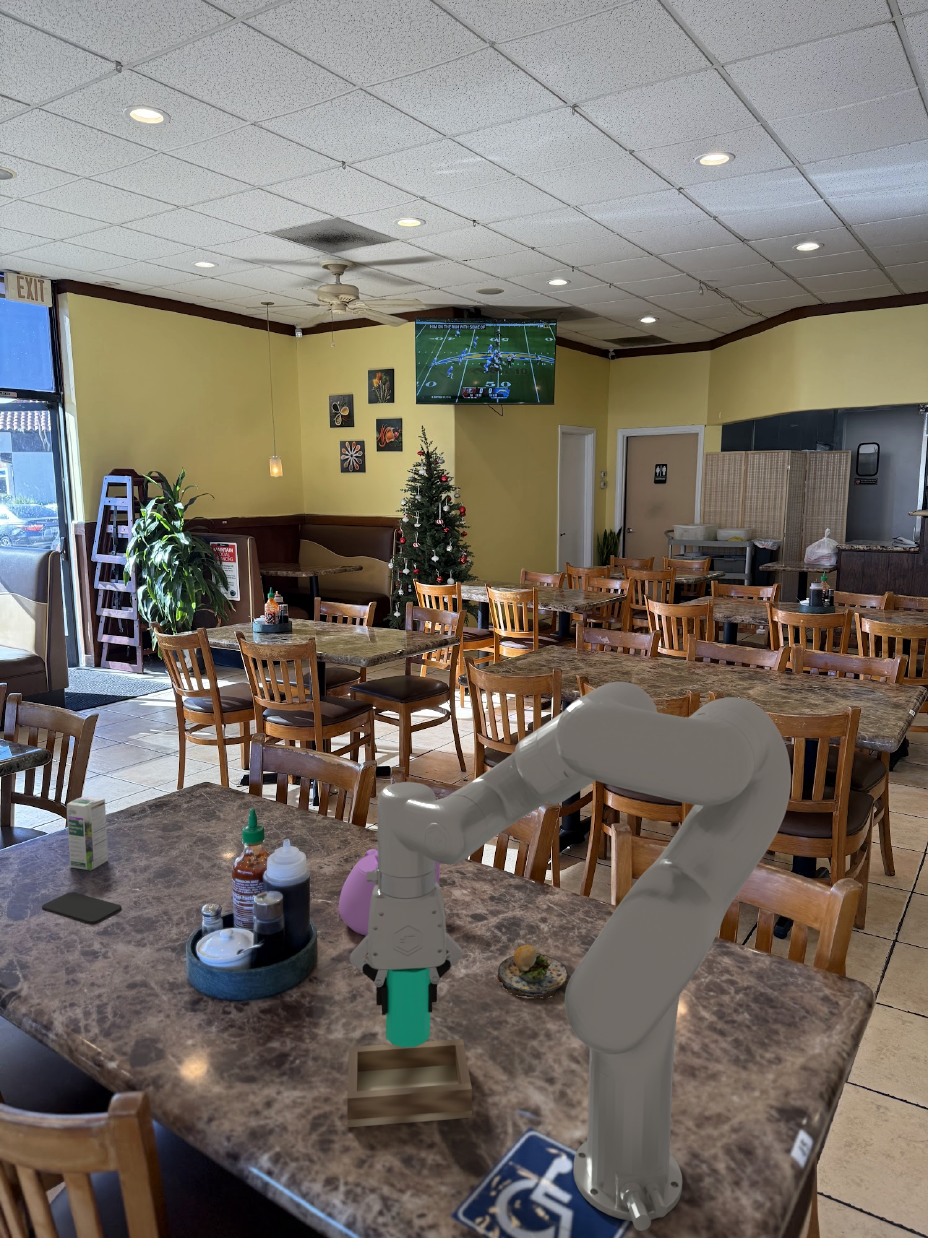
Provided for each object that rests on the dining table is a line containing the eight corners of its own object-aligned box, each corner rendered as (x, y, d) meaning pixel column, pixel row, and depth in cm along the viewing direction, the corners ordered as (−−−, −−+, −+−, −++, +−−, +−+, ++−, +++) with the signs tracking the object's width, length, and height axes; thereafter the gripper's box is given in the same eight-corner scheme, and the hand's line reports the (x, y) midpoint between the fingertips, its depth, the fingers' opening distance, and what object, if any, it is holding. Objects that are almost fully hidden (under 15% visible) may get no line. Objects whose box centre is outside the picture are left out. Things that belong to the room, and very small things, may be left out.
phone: (71, 891, 174) (124, 906, 167) (71, 895, 174) (124, 910, 167) (38, 906, 167) (93, 922, 160) (39, 910, 167) (93, 927, 160)
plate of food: (564, 1005, 136) (565, 962, 135) (491, 996, 138) (492, 953, 137) (570, 966, 148) (571, 925, 146) (503, 958, 150) (503, 918, 149)
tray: (462, 1062, 122) (462, 1038, 121) (472, 1117, 111) (472, 1091, 110) (349, 1070, 120) (348, 1045, 119) (347, 1127, 109) (347, 1100, 108)
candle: (407, 1014, 118) (408, 933, 117) (439, 1032, 114) (441, 948, 113) (375, 1034, 114) (376, 950, 112) (408, 1054, 110) (409, 966, 108)
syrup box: (68, 868, 185) (64, 804, 183) (88, 857, 191) (84, 795, 189) (90, 871, 183) (86, 806, 181) (109, 860, 189) (105, 797, 187)
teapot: (470, 936, 157) (470, 865, 155) (355, 959, 149) (353, 884, 147) (430, 886, 177) (430, 822, 175) (327, 904, 169) (325, 837, 167)
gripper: (339, 895, 106) (340, 1029, 109) (475, 889, 108) (473, 1021, 111) (341, 869, 114) (342, 995, 116) (468, 864, 116) (467, 988, 118)
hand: (406, 1006), depth 114 cm, fingers closed on candle, 5 cm apart
